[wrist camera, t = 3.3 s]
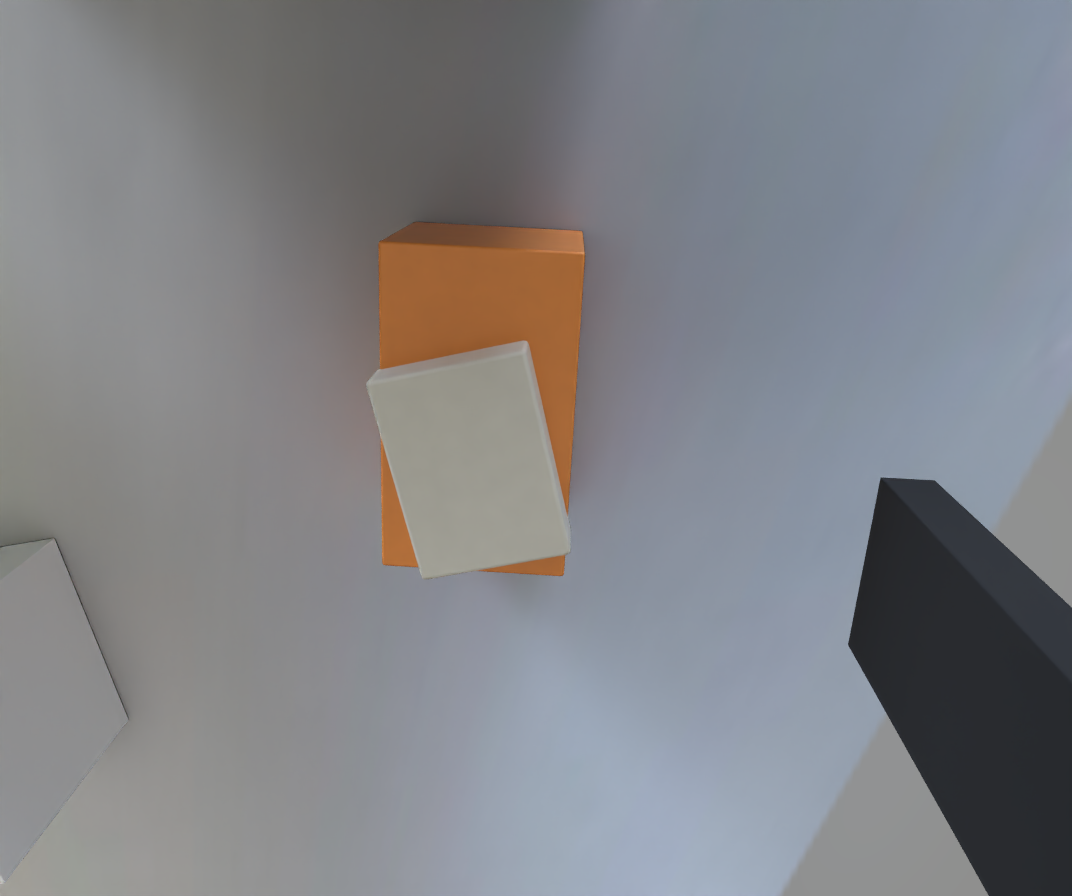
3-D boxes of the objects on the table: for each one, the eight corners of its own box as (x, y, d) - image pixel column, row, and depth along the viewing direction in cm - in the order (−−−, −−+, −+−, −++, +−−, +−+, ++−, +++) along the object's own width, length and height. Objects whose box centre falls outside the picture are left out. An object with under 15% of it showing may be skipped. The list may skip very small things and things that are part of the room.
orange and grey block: (586, 230, 21) (590, 258, 16) (568, 504, 23) (567, 598, 18) (409, 221, 21) (362, 246, 16) (409, 495, 23) (368, 585, 18)
